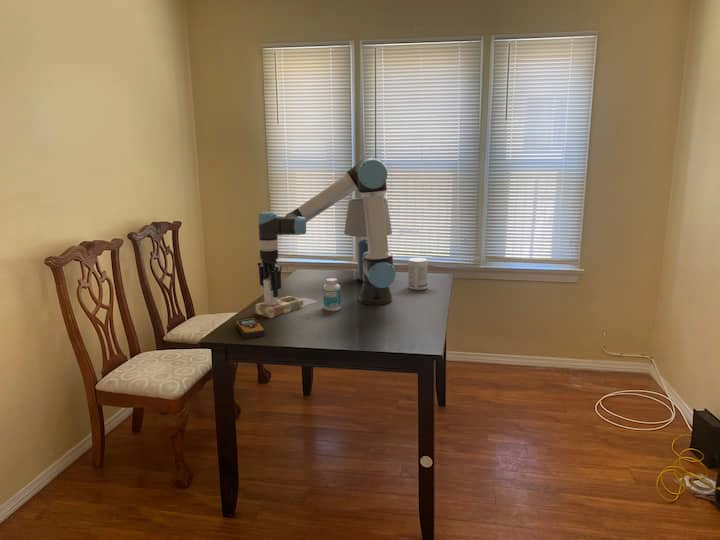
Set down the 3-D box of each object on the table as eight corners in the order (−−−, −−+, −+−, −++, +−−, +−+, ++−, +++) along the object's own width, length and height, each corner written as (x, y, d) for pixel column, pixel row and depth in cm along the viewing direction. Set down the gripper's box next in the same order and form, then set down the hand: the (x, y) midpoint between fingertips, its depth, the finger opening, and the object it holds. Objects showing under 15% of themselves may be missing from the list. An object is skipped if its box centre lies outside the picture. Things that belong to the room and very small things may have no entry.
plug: (277, 306, 221) (276, 278, 218) (270, 308, 218) (269, 279, 215) (272, 304, 224) (270, 276, 221) (264, 306, 221) (263, 278, 218)
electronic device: (243, 340, 192) (243, 332, 191) (235, 327, 205) (234, 319, 205) (266, 337, 195) (265, 328, 194) (256, 324, 209) (255, 316, 208)
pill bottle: (333, 305, 232) (332, 276, 229) (344, 309, 227) (343, 279, 224) (320, 309, 227) (319, 279, 224) (331, 312, 222) (330, 282, 219)
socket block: (303, 308, 228) (303, 299, 227) (270, 318, 215) (270, 308, 214) (288, 304, 235) (288, 295, 234) (256, 313, 222) (255, 303, 221)
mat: (318, 302, 237) (318, 301, 237) (302, 307, 230) (302, 306, 230) (304, 298, 244) (304, 297, 244) (287, 302, 237) (287, 301, 237)
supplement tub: (427, 286, 265) (428, 257, 262) (426, 290, 256) (427, 261, 253) (408, 285, 267) (409, 257, 264) (407, 290, 258) (407, 261, 254)
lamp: (348, 273, 292) (348, 197, 283) (393, 274, 289) (394, 197, 279) (341, 284, 268) (339, 201, 258) (389, 286, 265) (390, 202, 255)
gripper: (289, 250, 212) (290, 305, 218) (263, 245, 224) (265, 297, 229) (274, 253, 207) (276, 309, 212) (249, 248, 218) (251, 301, 224)
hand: (271, 303), depth 221 cm, fingers closed on plug, 4 cm apart
